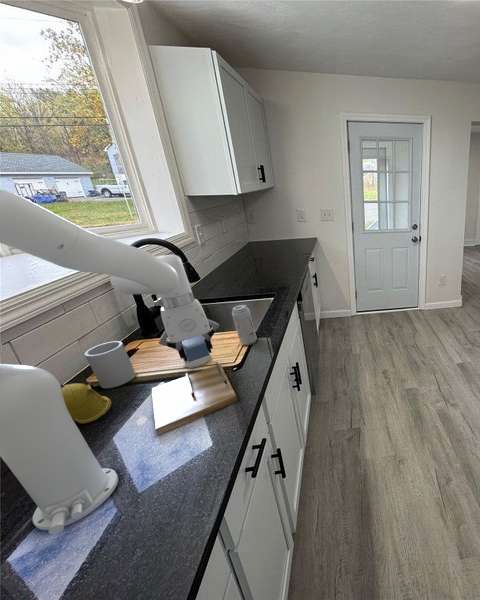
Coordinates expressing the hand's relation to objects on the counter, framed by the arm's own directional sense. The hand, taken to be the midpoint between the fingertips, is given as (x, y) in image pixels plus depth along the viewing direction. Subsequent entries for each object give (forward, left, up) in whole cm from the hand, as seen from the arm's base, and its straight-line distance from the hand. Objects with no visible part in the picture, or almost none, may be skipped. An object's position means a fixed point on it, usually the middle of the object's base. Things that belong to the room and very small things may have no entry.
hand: (197, 354), depth 94 cm
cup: (+25, +23, -11) cm, 36 cm away
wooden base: (-4, +4, -11) cm, 13 cm away
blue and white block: (0, 0, 0) cm, 0 cm away
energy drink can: (+20, -17, -11) cm, 29 cm away
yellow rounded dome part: (+5, +28, -11) cm, 30 cm away
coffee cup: (+18, +1, -11) cm, 22 cm away
